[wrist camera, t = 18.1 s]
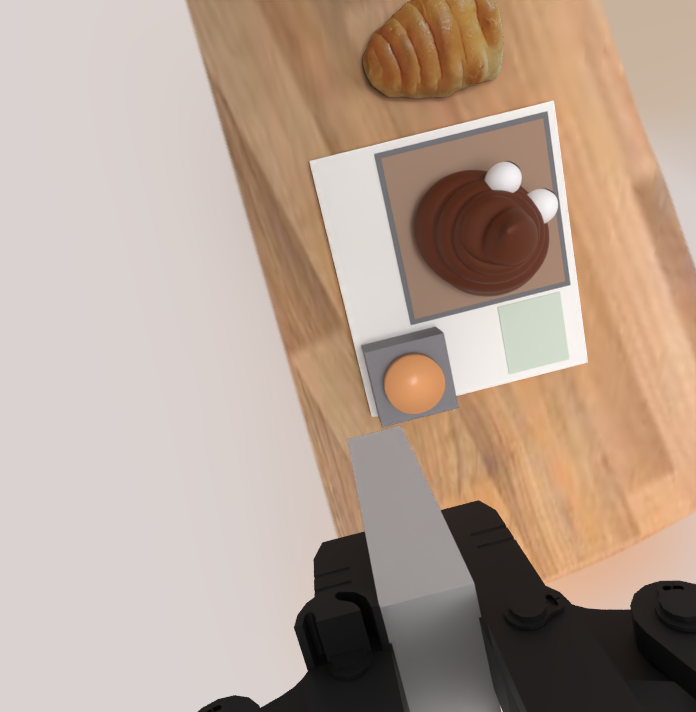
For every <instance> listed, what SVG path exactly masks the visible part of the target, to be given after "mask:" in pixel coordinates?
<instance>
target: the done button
mask: <svg viewBox="0 0 696 712" xmlns="http://www.w3.org/2000/svg"><path fill="white" fill-rule="evenodd" d="M384 390H385V393H386V395H387V397H388V399H389V401H390V402H391V404H392V405H393V406H394V407H395V408H397V409H398V410H400V411H402V412H404V413H408V414H419V413H423V412H426V411H428V410H430V409H432V408H433V407H434V406H435V405H436V404H437V403H438V402H439V401H440V399H441V398H442V396H443V393H444V390H445V377H444V374H443V371H442V370H441V368H440V367H439V366H438V364H437V363H436V362H435V361H434V360H433V359H432V358H430V357H429V356H427V355H424V354H421V353H408V354H404V355H402V356H399V357H398V358H396V359H395V360H394V361H393V362H392V363H391V364H390V365H389V367H388V368H387V370H386V372H385V375H384Z"/></svg>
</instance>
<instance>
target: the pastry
mask: <svg viewBox="0 0 696 712" xmlns="http://www.w3.org/2000/svg"><path fill="white" fill-rule="evenodd" d="M503 44H504V36H503V30H502V22H501V17H500V11H499V7H498V5H497V3H496V2H495V1H494V0H412V1H410V2H408V3H406V4H405V5H404V6H403V7H402V8H401V9H400V10H399V11H398V12H397V13H395V14H394V15H393V16H392V17H391V18H390V19H389V20H388V21H387V22H386V23H385V25H384V26H383V27H381V28H380V29H379V30H377V31H375V32H374V33H373V35H372V37H371V40H370V42H369V45H368V48H367V50H366V52H365V53H364V56H363V65H364V70H365V73H366V75H367V77H368V79H369V81H370V82H371V84H372V86H374V87H375V88H376V89H378V90H379V91H381V92H382V93H383V94H385V95H386V96H388V97H410V98H414V99H417V98H425V97H448V96H450V95H451V94H453V93H454V92H455V91H457V90H461V89H464V88H466V87H470V86H472V85H475V84H478V83H481V82H483V81H491V80H494V79H495V78H496V77H497V76H498V75H499V73H500V71H501V65H502V61H503V52H502V49H503Z"/></svg>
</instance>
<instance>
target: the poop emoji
mask: <svg viewBox="0 0 696 712" xmlns="http://www.w3.org/2000/svg"><path fill="white" fill-rule="evenodd" d="M521 180H522V176H521V172H520V168H519V167H518V166H517V165H516V164H515V163H513V162H510V161H505V162H500V163H498V164H496V165H494V166H493V167H491V168H490V170H489V171H483V170H465V171H460V172H456V173H453V174H450V175H448V176H446V177H444V178H442V179H441V180H439V181H438V182H436V183H435V184H434V185H433V186H432V187H431V188H430V189H429V190H428V191H427V193H426V194H425V196H424V197H423V199H422V201H421V203H420V205H419V207H418V210H417V214H416V219H415V236H416V241H417V244H418V247H419V250H420V252H421V254H422V256H423V258H424V259H425V261H426V262H427V264H428V265H429V266H430V268H431V269H432V270H433V271H434V272H435V273H436V274H437V275H438V276H440V277H441V278H442V279H444V280H445V281H447V282H448V283H450V284H451V285H453V286H454V287H456V288H457V289H459V290H461V291H463V292H465V293H468V294H471V295H476V296H484V297H490V296H499V295H503V294H507V293H510V292H512V291H514V290H516V289H518V288H520V287H521V286H523V285H524V284H526V283H527V282H528V281H529V280H530V279H531V278H532V277H533V276H534V275H535V273H536V272H537V271H538V270H539V268H540V267H541V265H542V264H543V262H544V260H545V258H546V255H547V252H548V248H549V227H548V223H547V222H548V221H550V220H551V219H552V218H553V217H554V215H555V214H556V212H557V209H558V200H557V196H556V194H555V193H554V192H553V191H551V190H549V189H547V188H541V189H536V190H533V191H531V192H530V193H529V192H527V191H526V190H525V189H524V188H523V187H522V186H520V184H521Z"/></svg>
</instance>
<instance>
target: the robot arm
mask: <svg viewBox="0 0 696 712" xmlns="http://www.w3.org/2000/svg"><path fill="white" fill-rule="evenodd" d="M347 440H348V446H349V451H350V456H351V461H352V467H353V472H354V477H355V482H356V487H357V493H358V498H359V503H360V508H361V514H362V519H363V524H364V529H365V532H361V533H357V534H353V535H349V536H346V537H342V538H338V539H334V540H330V541H326V542H323V543H322V545H321V546H320V548H319V550H318V552H317V554H316V556H315V558H314V578H315V579H314V590H315V597H314V598H313V599H312V600H310V601H309V602H307V603H306V605H305V606H304V607H303V609H302V610H301V611H300V613H299V614H298V616H297V619H296V623H295V626H294V629H295V632H296V635H297V638H298V641H299V645H300V648H301V651H302V654H303V657H304V660H305V663H306V667H307V670H308V672H307V673H306V675H305V676H304V678H303V679H302V680H301V681H300V682H299V683H298V684H297V685H296V686H295V687H294V688H292V689H291V690H289V691H288V692H286V693H285V694H284V695H282V696H280V697H279V698H277V699H275V700H273V701H272V702H270V703H268V704H266V705H265V706H263V707H261V708H260V707H259V705H258V704H256V703H255V702H254V701H253V700H251V699H250V698H249V697H242V696H236V695H235V696H230V697H226V698H221V699H217V700H216V701H214V702H212V703H211V704H208V705H207V706H205V707H203V708H201V709H200V710H199V711H198V712H501V708H502V711H503V712H696V584H692V583H687V582H683V581H659V582H655V583H652V584H649V585H645V586H644V587H642V588H641V589H640V590H639V591H637V593H635V594H634V596H633V599H632V602H631V605H630V607H631V610H600V609H588V608H583V607H579V606H575V605H572V604H571V603H570V602H569V601H568V600H567V599H566V598H565V597H564V596H563V595H562V594H561V593H560V592H558V591H556V590H554V589H551V588H549V587H547V586H545V584H544V583H543V581H542V580H541V578H540V577H539V575H538V574H537V572H536V571H535V569H534V568H533V566H532V564H531V563H530V561H529V560H528V558H527V557H526V555H525V554H524V552H523V551H522V549H521V548H520V546H519V545H518V543H517V542H516V540H514V538H513V536H512V534H511V532H510V531H509V529H508V528H506V525H505V523H504V522H503V520H502V519H501V517H500V516H499V514H498V513H497V511H496V510H495V509H493V508H491V507H489V506H488V505H486V504H484V503H482V502H481V501H479V500H478V501H474V502H471V503H467V504H463V505H459V506H455V507H451V508H447V509H443V510H440V508H439V506H438V504H437V502H436V500H435V498H434V495H433V493H432V491H431V489H430V487H429V485H428V482H427V480H426V478H425V476H424V474H423V472H422V470H421V467H420V465H419V463H418V461H417V459H416V457H415V454H414V452H413V450H412V448H411V446H410V444H409V442H408V439H407V437H406V435H405V433H404V431H403V429H402V427H401V426H398V427H394V428H390V429H386V430H382V431H378V432H374V433H370V434H366V435H362V436H358V437H355V438H351V439H347ZM500 706H501V708H500Z"/></svg>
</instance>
